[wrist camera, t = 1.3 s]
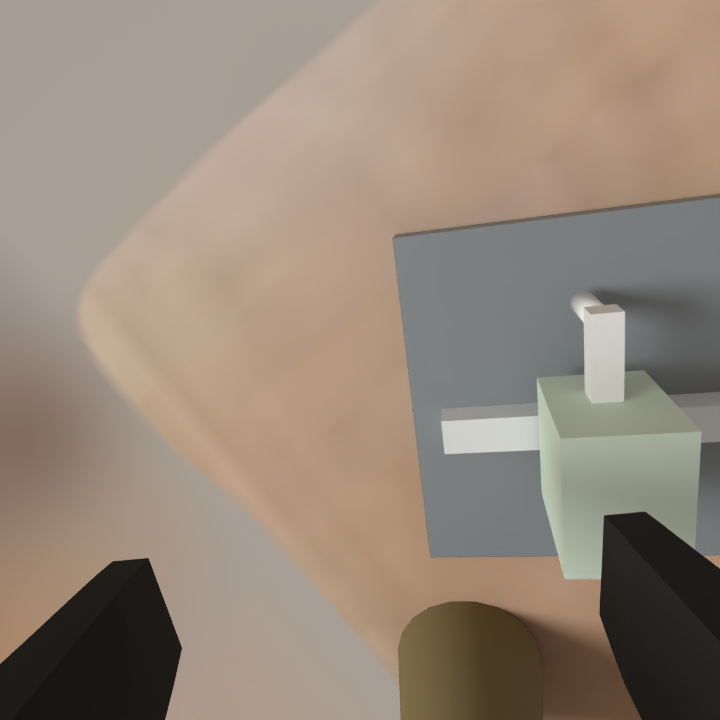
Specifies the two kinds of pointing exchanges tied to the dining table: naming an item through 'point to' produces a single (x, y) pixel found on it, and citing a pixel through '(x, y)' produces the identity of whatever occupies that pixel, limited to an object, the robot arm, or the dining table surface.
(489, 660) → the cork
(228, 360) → the dining table surface
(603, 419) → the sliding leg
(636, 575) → the robot arm
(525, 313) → the plate
